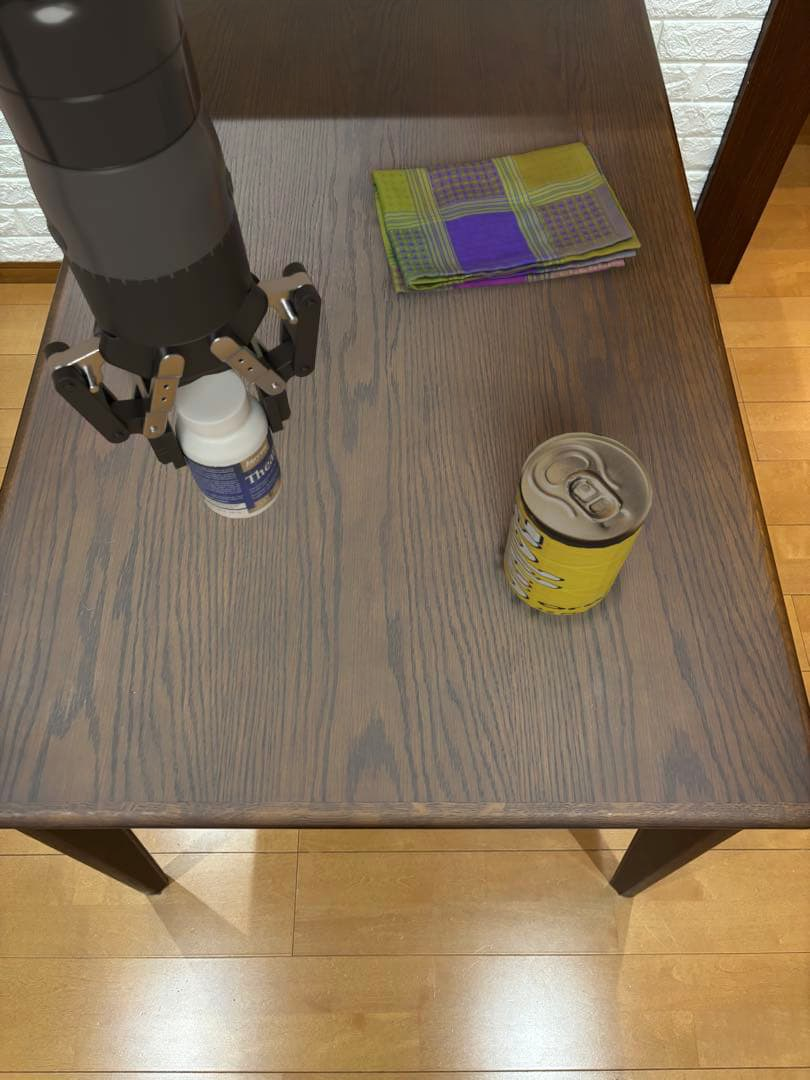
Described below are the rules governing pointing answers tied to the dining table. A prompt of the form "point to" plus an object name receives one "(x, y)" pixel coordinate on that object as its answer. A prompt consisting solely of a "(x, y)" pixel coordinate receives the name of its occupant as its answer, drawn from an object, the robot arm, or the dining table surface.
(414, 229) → the dish towel
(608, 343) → the dining table surface
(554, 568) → the beverage can
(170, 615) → the dining table surface
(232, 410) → the pill bottle
